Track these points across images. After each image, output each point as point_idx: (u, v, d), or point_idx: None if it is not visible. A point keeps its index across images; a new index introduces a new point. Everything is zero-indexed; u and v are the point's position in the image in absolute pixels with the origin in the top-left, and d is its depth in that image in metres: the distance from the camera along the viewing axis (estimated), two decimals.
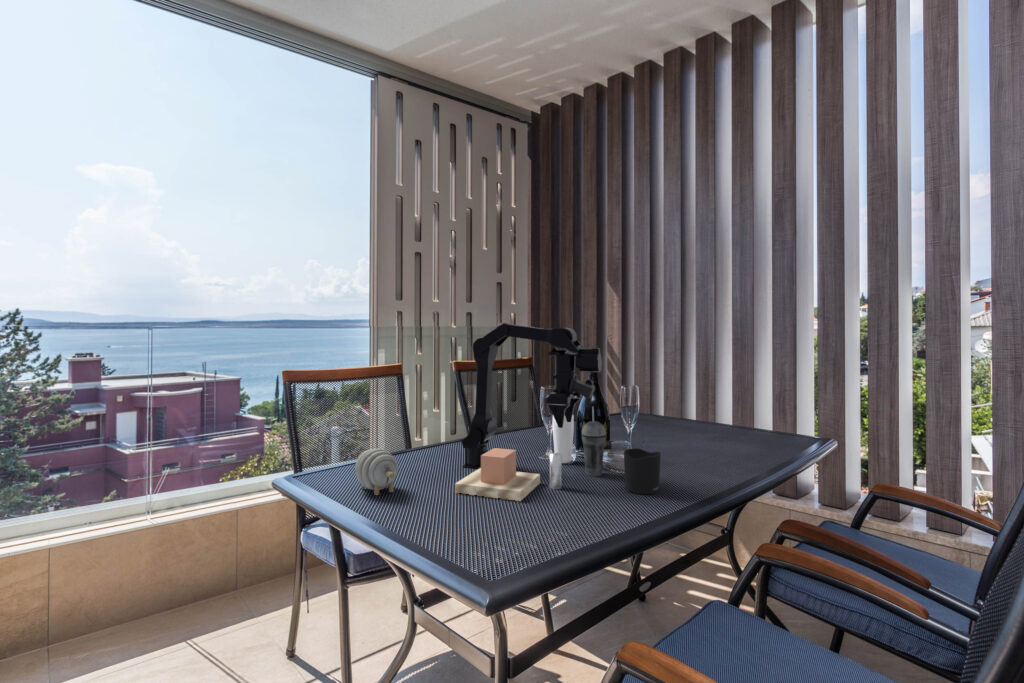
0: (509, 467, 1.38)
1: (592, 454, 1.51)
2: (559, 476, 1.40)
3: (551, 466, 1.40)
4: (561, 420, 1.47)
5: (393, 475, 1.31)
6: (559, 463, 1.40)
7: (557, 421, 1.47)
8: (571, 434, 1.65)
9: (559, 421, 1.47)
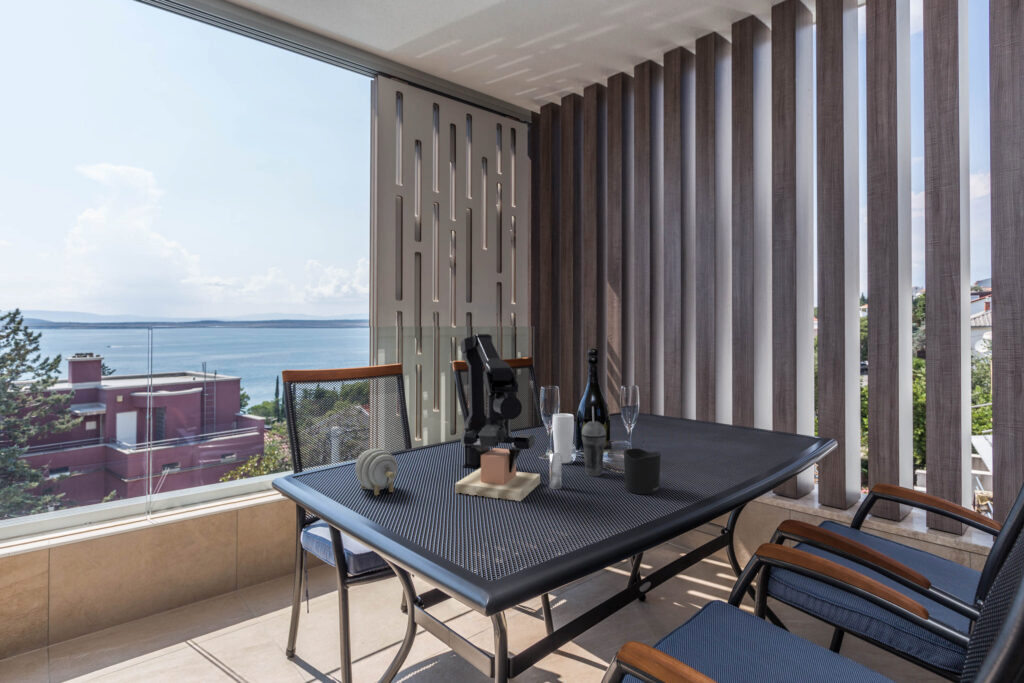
0: None
1: (592, 454, 1.51)
2: (559, 476, 1.40)
3: (551, 466, 1.40)
4: None
5: (393, 475, 1.31)
6: (559, 463, 1.40)
7: None
8: (571, 434, 1.65)
9: None
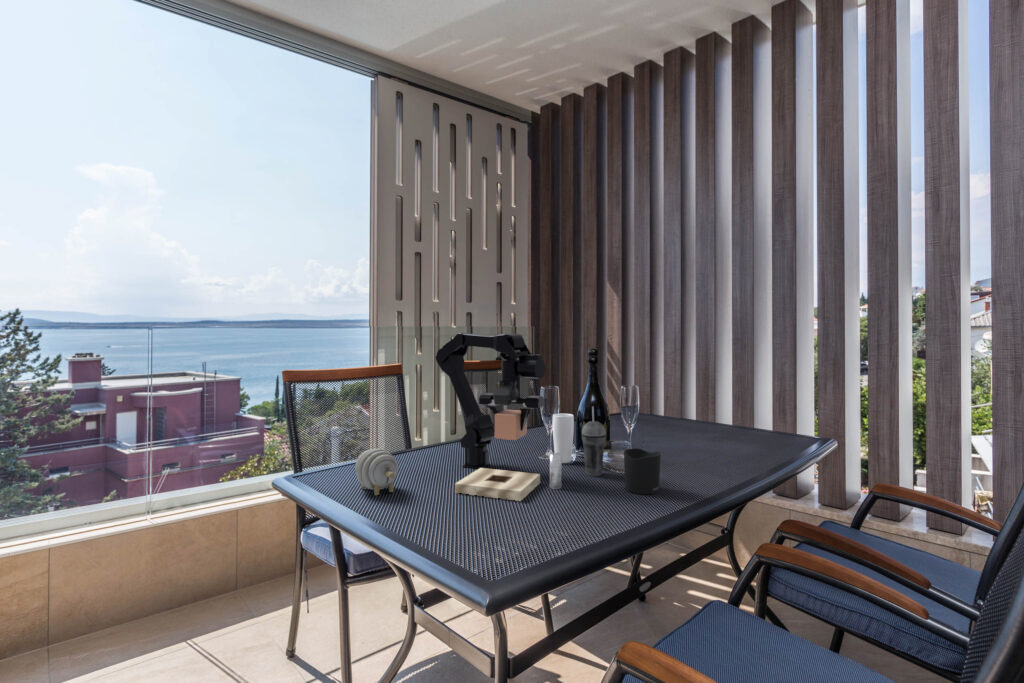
0: None
1: (592, 454, 1.51)
2: (559, 476, 1.40)
3: (551, 466, 1.40)
4: None
5: (393, 475, 1.31)
6: (559, 463, 1.40)
7: None
8: (571, 434, 1.65)
9: None
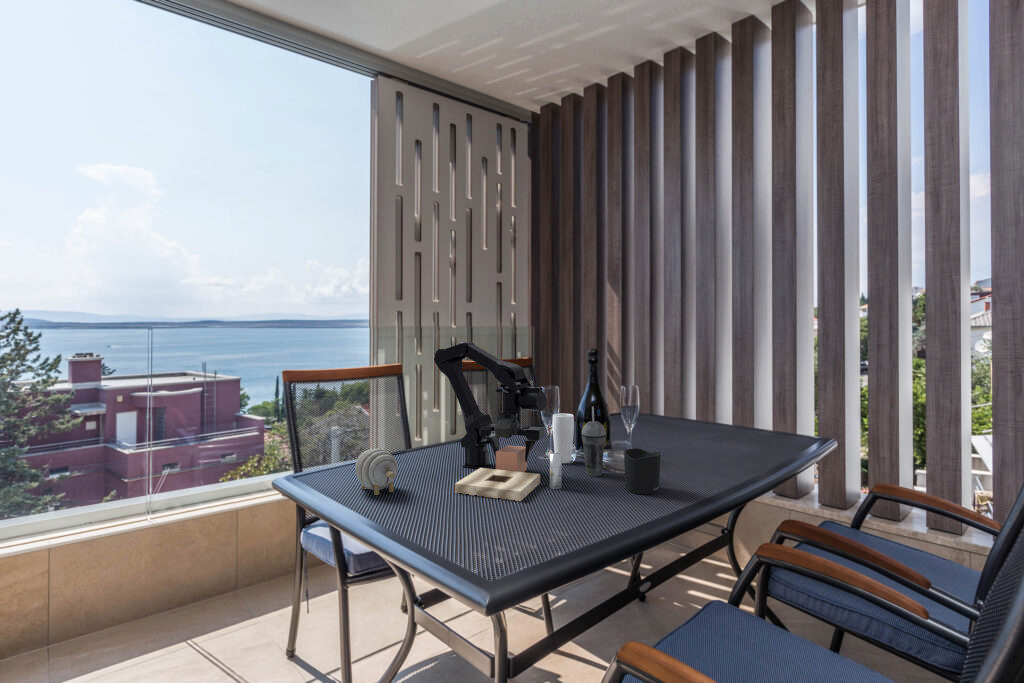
0: (521, 463, 1.53)
1: (592, 454, 1.51)
2: (559, 476, 1.40)
3: (551, 466, 1.40)
4: None
5: (393, 475, 1.31)
6: (559, 463, 1.40)
7: None
8: (571, 434, 1.65)
9: None
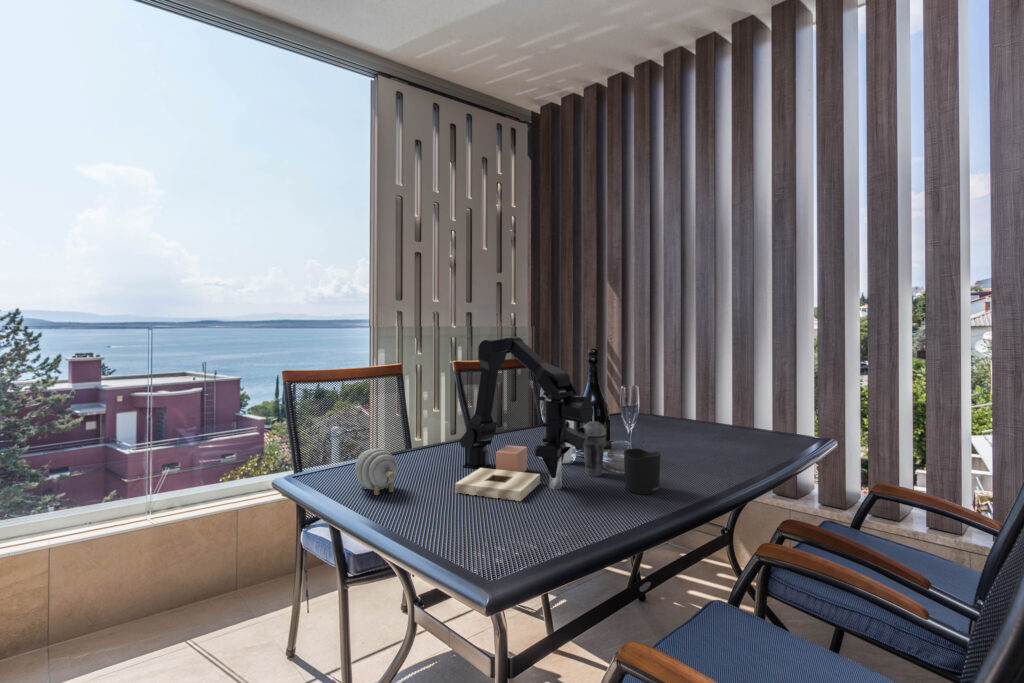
0: (521, 463, 1.53)
1: (592, 454, 1.51)
2: (559, 476, 1.40)
3: None
4: (554, 470, 1.38)
5: (393, 475, 1.31)
6: (559, 463, 1.40)
7: (550, 471, 1.39)
8: None
9: (552, 471, 1.39)
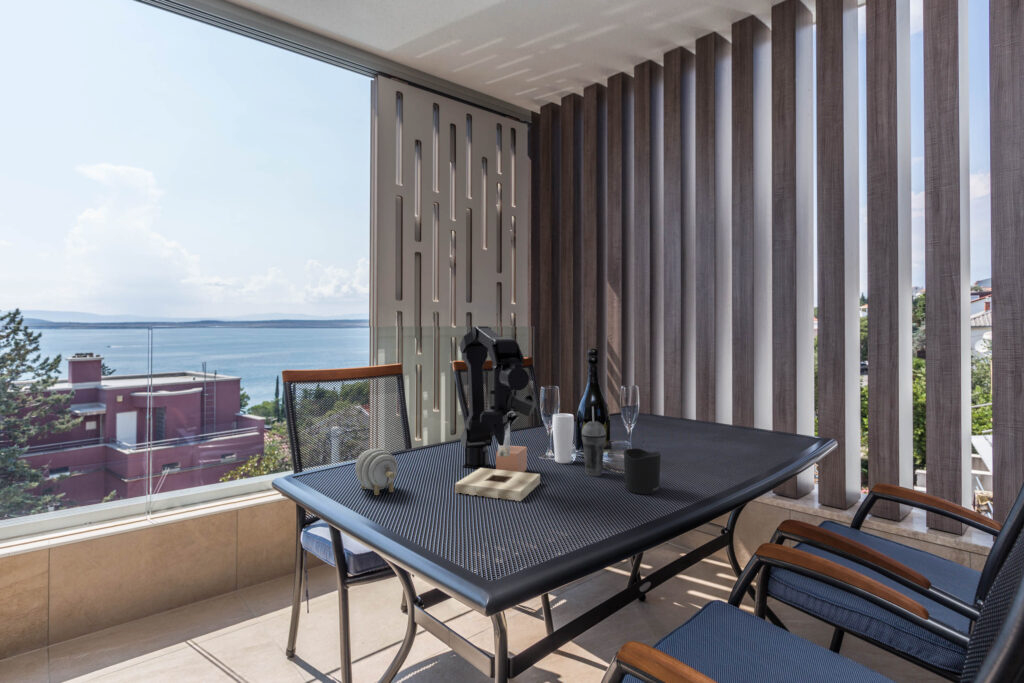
0: (521, 462, 1.53)
1: (592, 454, 1.51)
2: (507, 444, 1.39)
3: None
4: (501, 438, 1.38)
5: (393, 475, 1.31)
6: (507, 431, 1.39)
7: (497, 438, 1.38)
8: (571, 434, 1.65)
9: (499, 438, 1.38)
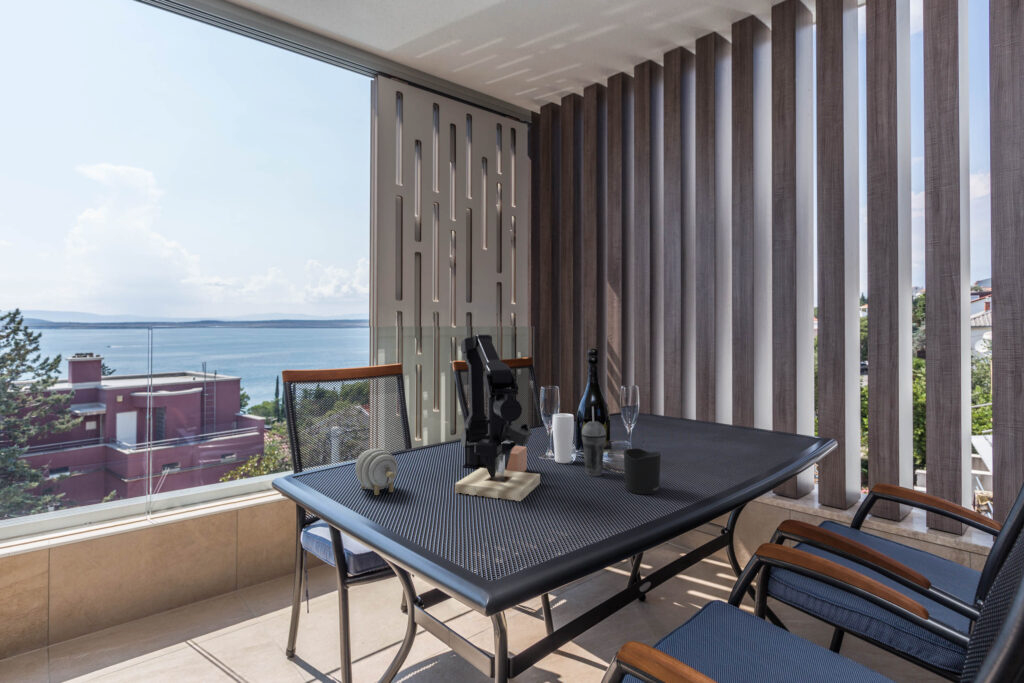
0: (521, 462, 1.53)
1: (592, 454, 1.51)
2: (502, 477, 1.39)
3: None
4: (493, 470, 1.35)
5: (393, 475, 1.31)
6: (502, 464, 1.39)
7: (489, 470, 1.36)
8: (571, 434, 1.65)
9: (491, 470, 1.36)
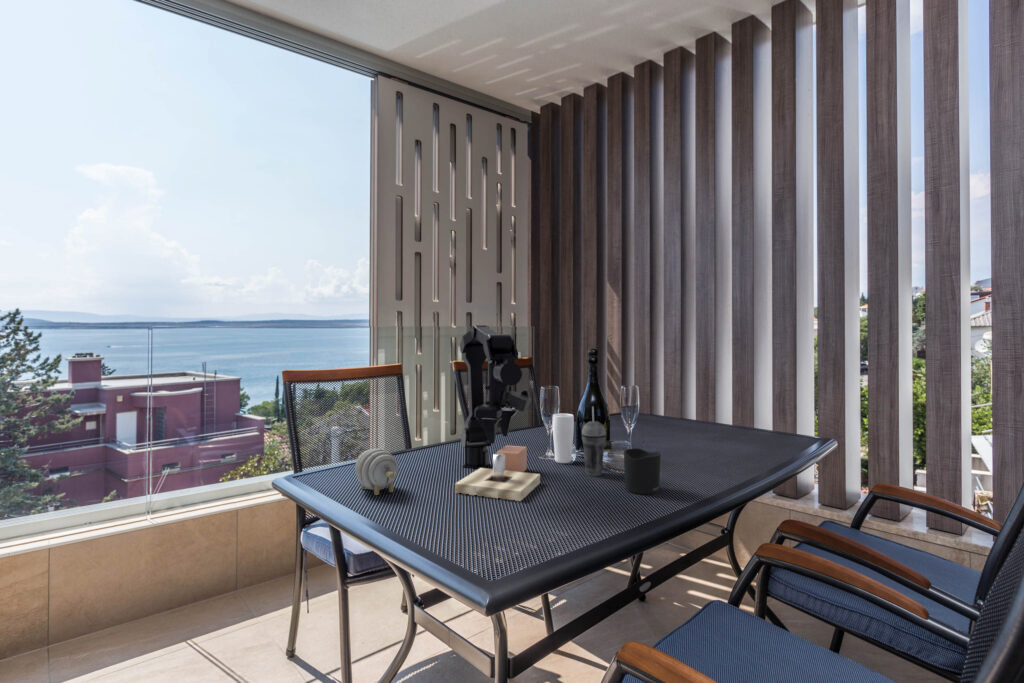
0: (521, 462, 1.53)
1: (592, 454, 1.51)
2: (502, 477, 1.39)
3: (494, 467, 1.39)
4: (492, 435, 1.35)
5: (393, 475, 1.31)
6: (502, 464, 1.39)
7: (488, 436, 1.35)
8: (571, 434, 1.65)
9: (490, 436, 1.35)
